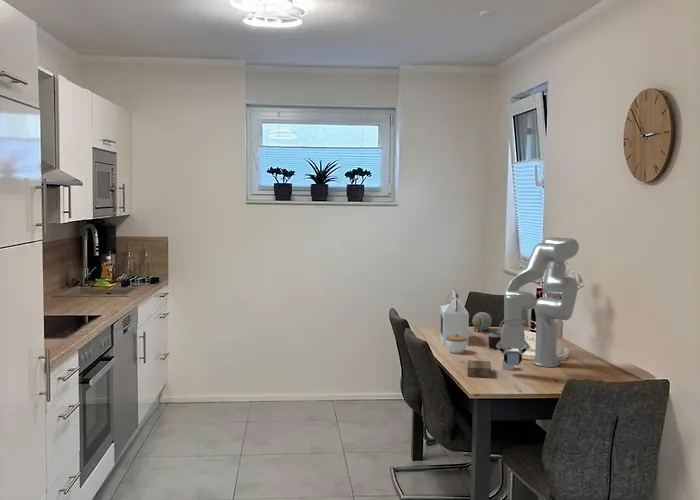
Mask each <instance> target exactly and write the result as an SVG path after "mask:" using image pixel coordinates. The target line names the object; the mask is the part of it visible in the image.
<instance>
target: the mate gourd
mask: <svg viewBox="0 0 700 500" xmlns="http://www.w3.org/2000/svg"><path fill="white" fill-rule="evenodd" d="M503 323H504V319H502V321H500V323H499V327H498V331H497V332H495V331H492V332H490V333H489V334H488V348H489V349H493V351H494V350H497V349H498V348H497V347H496V345H497V343H498V342H499V341H500V340H501V332H500V331H501V329H502V325H503ZM500 347H502V345H500ZM498 350H499V349H498Z"/></svg>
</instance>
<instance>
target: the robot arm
mask: <svg viewBox="0 0 700 500" xmlns="http://www.w3.org/2000/svg"><path fill="white" fill-rule="evenodd" d="M579 247H580V245H579V243H578V240H576V239H575V238H570V237H556V236H555V237H553V236H552V237H551V236H550V237H545V238H544V239H543V240H542V242H540V243H537V244H536V245H535V246H534V248H533V250H532V252H531V254H530V257H529V260H528V262H527V264H526V266H525V268H524V269H523V270H522V271H521V272H520V273H518V274H516V275H515V277H513V278H512V279H511V280H510V281H509V283H508V285H507V286H506V290H505V292H504V296H503V301H504V303H503V304H504V305H503V316H504V317H503V320H504V321H503V323H502V325H501V330H500V331H501V332H500V333H501V340H500V341H499V342H498V343H497V345H496V347H497V348H498V350H499V351H500V352H501V353H502V354H503V356H504V361H505V362H506V363H507V351H508V350H509V349H518V352H519V365H520V364H521V362H522V361H523V354H525V352H526V351H528V350H529V349H530V348H531V345H530V344H529V343H528V342H527V340H526V336H525V327H524V324H526V320H525V319H523V311H524V310H532V309H534V314H535V349H534V350H535V351H534V353H535V354H534V355H535V356H534V358H532V360H531V364H533V365H535V366H539V367H545V368H554V367H558V366H560V364H561V363H560V362H567V361H568V359H567V358H568V357H565V356H559V355H558V354H557V345H558V341H557V340H558V325H557V323H556V321H555V320H559V321H568V320H570V318H571V317H573V316H572V315H573V313H574V308H575V303H576V300H577V295H578V290H579V285H578V281H577V280H576V278H573V277H572V276H565V275H566V270H567V266H566V265H567V264H566V262H567V260H570V259H572V258H574V257H576V255H577V254H578V252H579V249H580V248H579ZM565 261H566V262H565ZM543 277H544V280H543V282H542V283H543V284H542V291H543V293H544V294H546V295H549V297H548V296H544V297H543V296H542V297H538V298H537V297H536V295H535V294H534V293H532V292H529V291H527V292H526V291H520V289H521V288H523V286H525V285H527V284H529V283H533V282H536V281H539V280H541V279H543ZM550 296H555V297H550ZM557 297H561V298H557ZM500 345H502V346H501V347H500Z"/></svg>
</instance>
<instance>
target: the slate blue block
mask: <svg viewBox="0 0 700 500" xmlns="http://www.w3.org/2000/svg"><path fill="white" fill-rule="evenodd" d="M507 365H514V366H520V364H519V350H507Z"/></svg>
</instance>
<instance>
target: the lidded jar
mask: <svg viewBox="0 0 700 500" xmlns="http://www.w3.org/2000/svg"><path fill="white" fill-rule="evenodd" d="M466 345H467V337H466V336H462V335H458V334H456V335H448V336H446V346H445V347H446V348H447V350H448V351H449V352H450V353H451V354H463V352H465V349H466V348H467V346H466Z"/></svg>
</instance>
